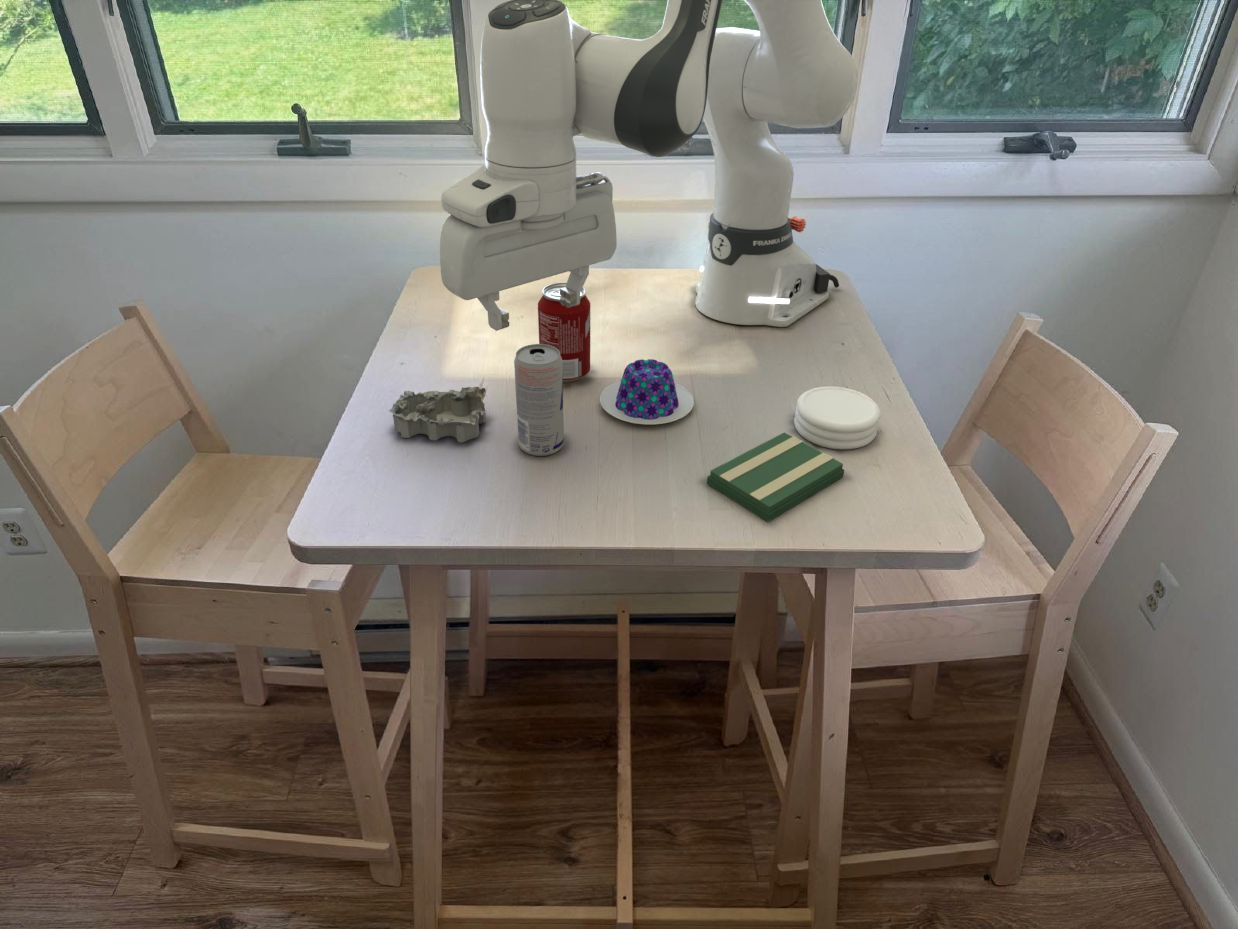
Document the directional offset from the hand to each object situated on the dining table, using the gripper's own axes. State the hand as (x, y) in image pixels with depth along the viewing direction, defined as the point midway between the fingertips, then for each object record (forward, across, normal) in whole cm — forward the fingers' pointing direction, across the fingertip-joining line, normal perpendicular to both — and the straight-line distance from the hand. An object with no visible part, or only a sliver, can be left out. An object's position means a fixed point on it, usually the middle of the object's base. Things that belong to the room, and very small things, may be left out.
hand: (535, 315), depth 93 cm
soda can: (+17, -13, -12) cm, 25 cm away
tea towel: (+16, -16, +22) cm, 32 cm away
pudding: (+17, -16, +1) cm, 23 cm away
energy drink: (+17, 0, 0) cm, 17 cm away
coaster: (+17, -30, +20) cm, 40 cm away
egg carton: (+17, +7, -11) cm, 21 cm away
